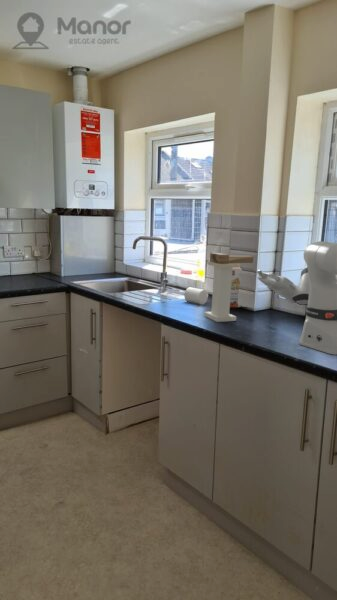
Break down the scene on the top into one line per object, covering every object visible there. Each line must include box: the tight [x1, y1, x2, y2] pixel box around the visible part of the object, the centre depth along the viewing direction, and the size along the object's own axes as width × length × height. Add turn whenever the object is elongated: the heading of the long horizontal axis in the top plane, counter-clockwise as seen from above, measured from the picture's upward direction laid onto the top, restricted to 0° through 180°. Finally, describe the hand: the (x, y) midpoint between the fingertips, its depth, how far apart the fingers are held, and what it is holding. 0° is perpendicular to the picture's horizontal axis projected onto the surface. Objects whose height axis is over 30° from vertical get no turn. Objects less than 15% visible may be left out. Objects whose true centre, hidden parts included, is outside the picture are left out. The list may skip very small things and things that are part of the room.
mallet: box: [209, 252, 254, 264], centre depth 207 cm, size 8×20×4 cm, turn 115°
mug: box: [184, 286, 209, 305], centre depth 244 cm, size 12×10×8 cm
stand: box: [203, 260, 241, 323], centre depth 207 cm, size 12×10×26 cm
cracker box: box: [230, 268, 242, 308], centre depth 236 cm, size 14×6×21 cm, turn 105°
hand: (264, 272), depth 216 cm, fingers open, 8 cm apart
